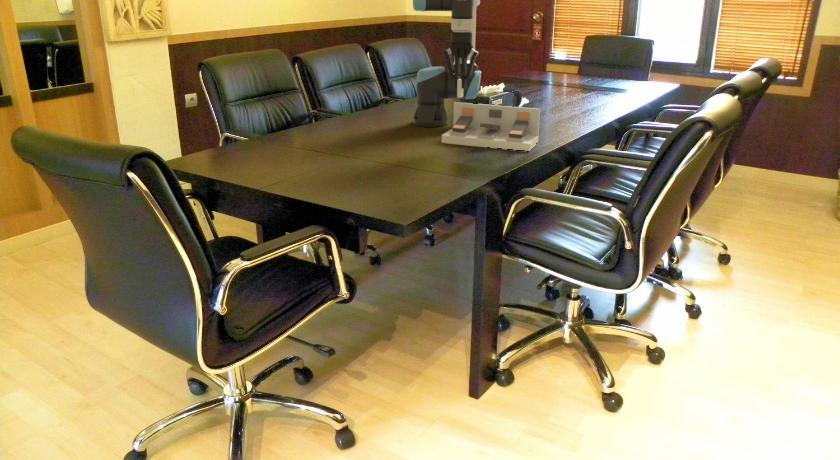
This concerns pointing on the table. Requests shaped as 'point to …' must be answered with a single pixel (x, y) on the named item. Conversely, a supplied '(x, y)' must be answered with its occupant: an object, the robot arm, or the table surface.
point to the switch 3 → (518, 128)
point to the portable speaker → (516, 97)
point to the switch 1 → (462, 123)
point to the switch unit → (491, 136)
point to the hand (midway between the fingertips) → (460, 96)
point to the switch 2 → (489, 125)
